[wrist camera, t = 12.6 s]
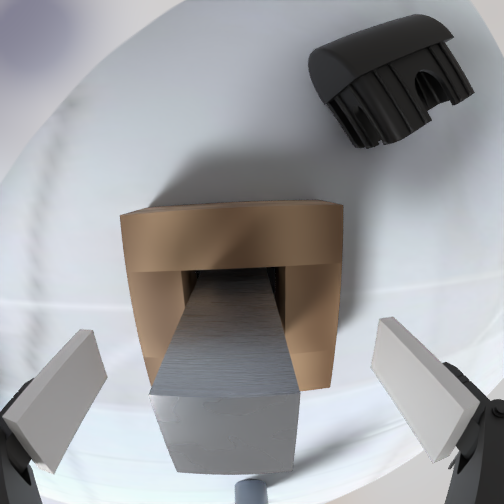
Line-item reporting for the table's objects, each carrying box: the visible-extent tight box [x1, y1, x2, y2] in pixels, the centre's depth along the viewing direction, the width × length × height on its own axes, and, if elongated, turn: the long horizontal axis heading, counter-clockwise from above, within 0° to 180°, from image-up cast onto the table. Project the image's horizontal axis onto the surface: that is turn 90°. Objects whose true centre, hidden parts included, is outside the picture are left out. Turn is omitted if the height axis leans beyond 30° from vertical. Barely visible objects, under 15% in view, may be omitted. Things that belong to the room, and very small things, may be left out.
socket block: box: [120, 200, 343, 391], centre depth 18 cm, size 12×12×5 cm
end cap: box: [308, 14, 475, 149], centre depth 15 cm, size 10×7×7 cm
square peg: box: [149, 267, 300, 475], centre depth 14 cm, size 4×4×14 cm
